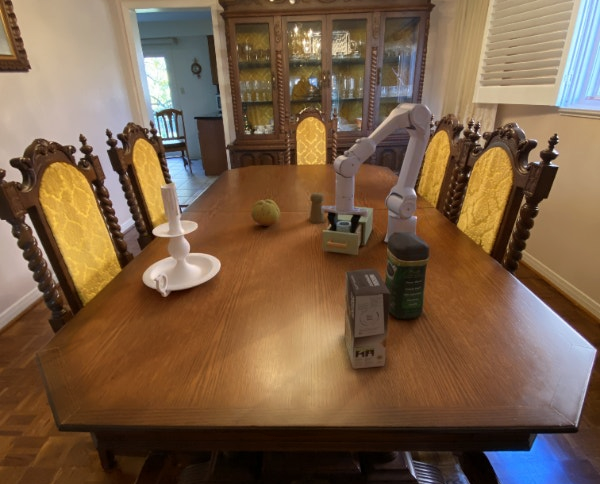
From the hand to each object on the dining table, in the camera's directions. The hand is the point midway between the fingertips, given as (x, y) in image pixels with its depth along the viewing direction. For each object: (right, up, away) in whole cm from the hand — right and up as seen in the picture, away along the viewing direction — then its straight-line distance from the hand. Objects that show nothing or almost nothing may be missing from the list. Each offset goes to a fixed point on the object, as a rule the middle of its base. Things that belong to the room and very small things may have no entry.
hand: (343, 235), depth 112 cm
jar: (0, -1, +1) cm, 1 cm away
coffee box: (-2, -22, -43) cm, 48 cm away
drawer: (0, -4, +1) cm, 4 cm away
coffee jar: (+10, -16, -30) cm, 35 cm away
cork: (-7, +5, +26) cm, 27 cm away
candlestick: (-47, -13, -17) cm, 51 cm away
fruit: (-27, +3, +22) cm, 35 cm away
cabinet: (+4, 0, +11) cm, 12 cm away
